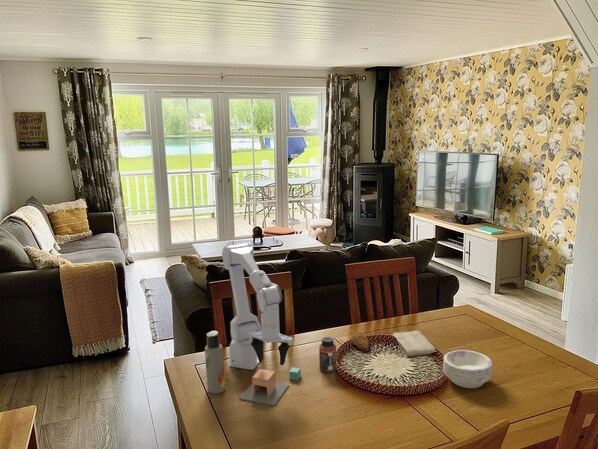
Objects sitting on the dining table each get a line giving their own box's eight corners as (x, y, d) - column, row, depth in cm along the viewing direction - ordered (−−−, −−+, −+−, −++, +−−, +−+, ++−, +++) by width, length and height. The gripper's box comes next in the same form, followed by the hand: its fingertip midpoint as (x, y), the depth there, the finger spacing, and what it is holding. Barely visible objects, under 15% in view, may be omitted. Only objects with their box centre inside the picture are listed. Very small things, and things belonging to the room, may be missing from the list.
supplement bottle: (335, 374, 168) (335, 343, 165) (318, 372, 169) (317, 342, 166) (337, 365, 173) (337, 336, 171) (321, 364, 174) (320, 335, 172)
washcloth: (418, 334, 198) (418, 327, 197) (437, 355, 180) (437, 347, 180) (390, 337, 196) (390, 330, 195) (407, 358, 178) (407, 350, 178)
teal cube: (289, 379, 165) (289, 371, 164) (292, 375, 168) (292, 367, 167) (297, 380, 164) (297, 372, 163) (300, 376, 167) (300, 368, 166)
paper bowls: (456, 365, 171) (457, 344, 170) (499, 380, 161) (500, 358, 159) (434, 381, 161) (434, 359, 159) (478, 399, 150) (479, 375, 149)
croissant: (345, 339, 195) (345, 327, 194) (361, 337, 197) (361, 325, 196) (357, 354, 182) (357, 341, 181) (374, 351, 184) (374, 339, 183)
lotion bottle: (228, 386, 161) (224, 330, 157) (220, 395, 156) (216, 337, 152) (212, 383, 163) (209, 328, 159) (204, 392, 158) (200, 335, 154)
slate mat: (239, 399, 153) (239, 398, 153) (255, 380, 164) (255, 379, 164) (274, 406, 149) (274, 404, 149) (288, 386, 160) (288, 385, 160)
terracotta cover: (253, 394, 155) (252, 377, 154) (260, 385, 160) (259, 368, 159) (268, 397, 153) (268, 379, 152) (275, 388, 158) (275, 371, 157)
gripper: (244, 324, 154) (246, 364, 156) (286, 330, 148) (287, 371, 151) (253, 316, 160) (255, 354, 163) (294, 321, 155) (296, 361, 158)
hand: (271, 362), depth 157 cm, fingers open, 7 cm apart
